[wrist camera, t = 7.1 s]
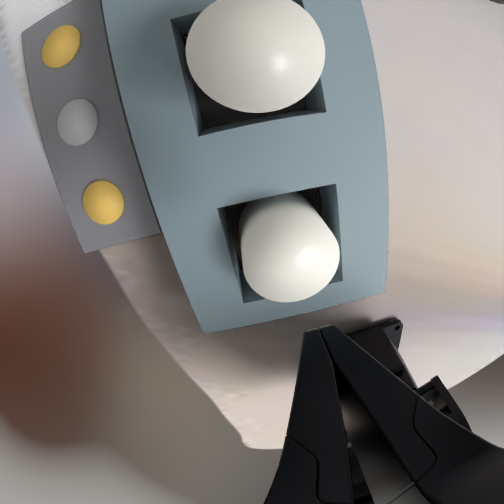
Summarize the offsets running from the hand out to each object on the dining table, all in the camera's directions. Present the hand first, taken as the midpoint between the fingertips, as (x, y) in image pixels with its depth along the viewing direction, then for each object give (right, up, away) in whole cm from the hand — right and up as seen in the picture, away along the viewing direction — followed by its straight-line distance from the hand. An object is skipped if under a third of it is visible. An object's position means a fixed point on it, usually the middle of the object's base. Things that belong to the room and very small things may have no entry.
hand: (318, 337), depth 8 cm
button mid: (-2, +10, +2) cm, 10 cm away
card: (-11, +9, +4) cm, 14 cm away
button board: (-2, +11, +4) cm, 12 cm away
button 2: (-1, +4, +7) cm, 8 cm away
